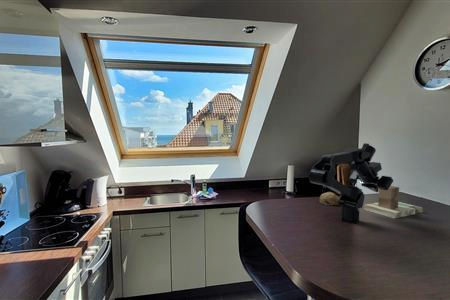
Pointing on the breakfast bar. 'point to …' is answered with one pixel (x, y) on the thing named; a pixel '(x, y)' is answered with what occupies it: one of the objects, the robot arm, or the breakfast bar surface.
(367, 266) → the breakfast bar surface
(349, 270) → the breakfast bar surface
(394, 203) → the walnut block
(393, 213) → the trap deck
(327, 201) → the bread roll
